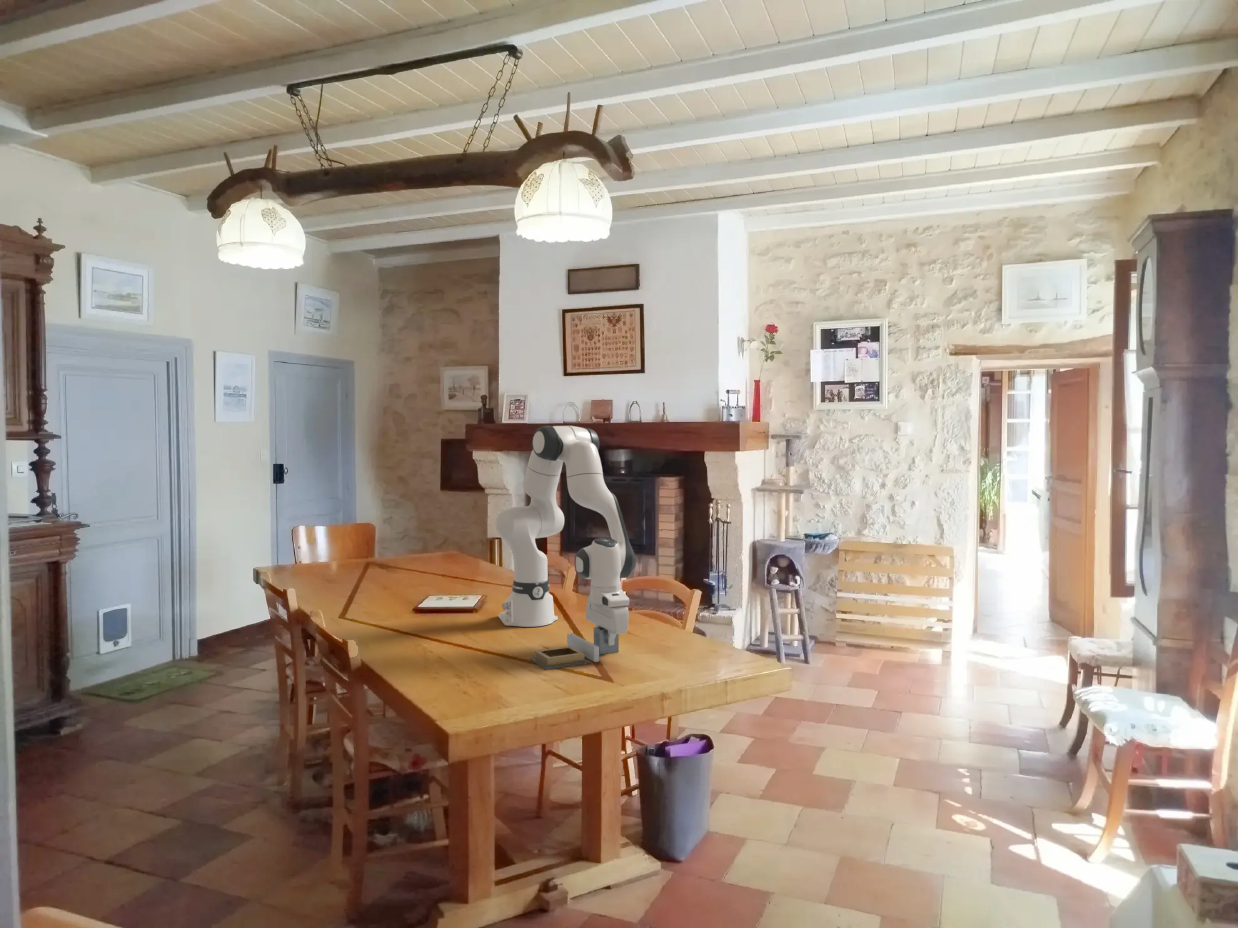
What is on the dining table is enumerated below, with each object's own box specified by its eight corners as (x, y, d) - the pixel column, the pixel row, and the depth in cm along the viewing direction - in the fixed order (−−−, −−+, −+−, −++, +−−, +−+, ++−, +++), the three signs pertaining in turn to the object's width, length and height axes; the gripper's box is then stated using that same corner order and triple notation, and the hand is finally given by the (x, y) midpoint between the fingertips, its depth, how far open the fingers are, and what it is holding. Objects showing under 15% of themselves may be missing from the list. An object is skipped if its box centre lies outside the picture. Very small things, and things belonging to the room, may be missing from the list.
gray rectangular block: (593, 651, 242) (593, 627, 241) (612, 648, 244) (612, 625, 244) (599, 654, 238) (599, 630, 238) (618, 652, 241) (618, 628, 241)
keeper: (530, 659, 233) (530, 650, 233) (572, 653, 239) (572, 644, 239) (545, 669, 223) (545, 660, 223) (589, 663, 229) (589, 653, 229)
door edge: (567, 646, 246) (567, 633, 246) (571, 646, 247) (571, 632, 247) (594, 661, 231) (594, 647, 230) (599, 661, 231) (599, 646, 231)
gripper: (580, 589, 248) (580, 635, 249) (612, 602, 230) (612, 652, 231) (599, 587, 251) (599, 633, 252) (632, 600, 233) (632, 649, 234)
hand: (606, 642), depth 241 cm, fingers open, 4 cm apart
